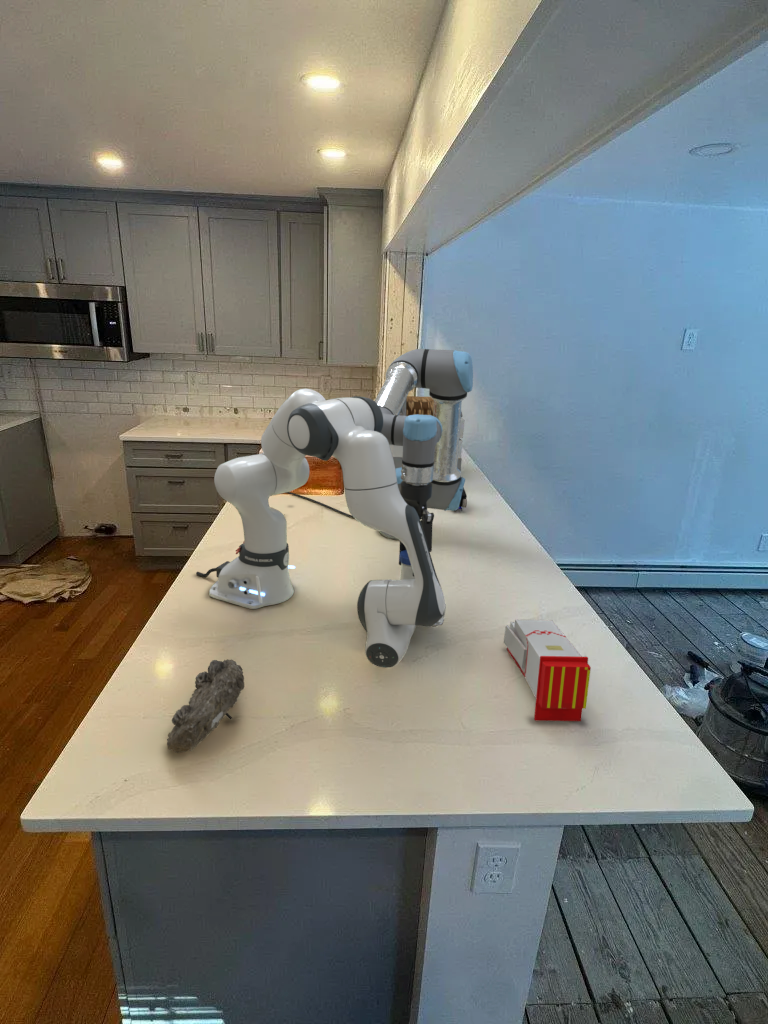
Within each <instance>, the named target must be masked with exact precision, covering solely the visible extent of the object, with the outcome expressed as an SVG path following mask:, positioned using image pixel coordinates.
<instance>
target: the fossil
mask: <svg viewBox="0 0 768 1024" xmlns="http://www.w3.org/2000/svg"><path fill="white" fill-rule="evenodd" d="M243 670H244V669H243V667H242V665H240V664H237V662H236V661H235V660H234V659H232V658H231V659H227V658H226V659H224V660H223V661H222V660H217V659H212V660H211V661H210V663H209V665H208V666H207V671H201V672H199V673H198V674H197V675H196V676H195V680H194V684H195V685H194V687H195V689H194V690H193V693H192V694H191V697H190V698H189V700H188V704H184V705H182V706H181V707H180V709H177V710H176V711H175V713H174V715H173V716H172V718H171V723H172V724H173V727H172V730H171V731H170V732H168V734H167V738H166V741H167V742H166V745H167V749H168V750H169V751H173V752H174V753H176V754H178V753H182V752H188V751H189V752H192V751H193V750H195V748H196V747H197V746H199V744H200V743H201V742H203V741H204V740H205V739H206V738H207V737H208V736H209V735H210V734H211V733H212V732H214V730H215V729H217V727H218V726H219V724H220V722H221V721H222V720H223V719H224V718H225V716H226V717H227V719H229V720H233V717H232V715H230V714H229V710H230V709H231V708H234V706H235V704H236V703H237V702H238V699H239V697H240V695H241V693H242V691H243V690H245V689H244V688H245V675H244V671H243Z"/></svg>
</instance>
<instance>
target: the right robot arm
mask: <svg viewBox="0 0 768 1024" xmlns="http://www.w3.org/2000/svg"><path fill="white" fill-rule="evenodd" d="M473 368H474V367H473V359H472V355H471V354H470V353H469V352H468V351H461V350H457V349H432V348H416V349H412V350H410V351H407V352H405V353H403V354H401V355H400V356H398V357H396V359H394V360H393V361H392V362H391V363H390V364H389V366H388V367H387V369H386V372H385V381H384V382H383V384H382V385H381V388H380V390H379V392H378V394H377V396H376V397H375V399H374V401H375V402H376V403H377V404H378V406H379V407H380V409H381V412H382V415H383V428H382V431H381V434H383V435H384V436H385V437H386V439H387V440H388V443H389V445H397V446H403V455H402V467H401V468H396V469H395V470H396V477H397V485H398V489H399V492H400V494H401V496H402V498H403V499H404V501H405V502H406V503H407V504H408V505H409V506H412V507H414V508H415V510H416V512H417V514H418V516H419V519H420V521H421V524H422V527H423V531H424V534H425V537H426V541H427V544H428V548H429V551H430V553H432V551H433V524H434V523H433V522H434V518H435V514H434V512H430V511H429V510H428V509H430V510H431V509H433V510H442V511H445V512H446V511H451V512H452V511H453V512H456V511H457V510H458V508H459V504H460V500H461V496H462V491H463V487H464V486H465V483H466V478H465V477H463V476H462V470H461V471H460V470H459V469H458V468H457V461H458V446H459V432H460V417H461V412H462V403H463V402H462V401H464V400H465V399H466V398H467V396H468V393H469V392H470V393H471V392H472V391H473V386H474V369H473ZM414 389H427V390H429V392H428V395H429V397H431V398H432V399H433V400H434V411H433V416H431V415H409V416H401V415H399V413H400V411H401V408H402V406H403V404H404V402H405V400H406V398H407V396H409V393H410V392H411V391H413V390H414ZM461 418H462V417H461ZM464 488H465V487H464ZM285 494H288V495H292V496H295V497H298V498H301V499H305V500H308V501H309V502H313V503H316V504H318V505H319V506H323V507H325V508H328V509H330V510H332V511H334V512H336V513H339V514H341V515H343V516H346V517H348V518H352V519H355V518H354V517H353V516H352V515H351V514H350V513H347V512H344V511H341V510H339V509H336V508H334V507H332V506H330V505H328V504H326V503H323V502H320V501H318V500H315V499H313V498H310V497H307V496H304V495H301V494H298V493H295V492H292V491H290V492H286V493H285ZM459 509H460V508H459ZM378 533H379V534H380V535H381V536H382V537H385V538H387V539H389V540H395V541H399V546H398V547H399V551H398V552H399V553H398V555H399V554H400V552H401V551H403V550H407V549H406V547H405V546H404V544H403V543H402V542H401V541H400V540H399V539H397V538H396V537H394V536H392V535H390V534H387V533H385V532H382V531H378ZM398 565H399V566H401V562H400V561H399V560H398ZM413 576H414V573H413Z"/></svg>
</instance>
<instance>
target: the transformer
mask: <svg viewBox="0 0 768 1024" xmlns="http://www.w3.org/2000/svg"><path fill="white" fill-rule="evenodd" d="M433 411H434V400H433V399H432V398H431V397H430V396H415V395H414V396H413V395H412V396H411V395H407V398H406V400H405V402H404V404H403V406H402V408H401V411H400V413H399V415H401V416H409V415H431V416H433ZM464 429H465V419H464V418H463V411H461V417H460V432H459V446H458V461H457V468H458V469H459V470H460V471H461V472H462V461H463V460H462V453H463V442H464V441H463V440H462V439H463V438H464V431H465V430H464ZM389 446H390V449H391V452H392V456H393V460H394V465H395V469H396V468H401V467H402V455H403V446H397V445H389Z"/></svg>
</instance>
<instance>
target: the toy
mask: <svg viewBox="0 0 768 1024" xmlns="http://www.w3.org/2000/svg"><path fill="white" fill-rule="evenodd" d="M503 644H504V645H505V647H506V650H507V653H508V654H509V656H510V657H511V658H512V660H513V662H514V663H515V665H516V667H517V668H518V669H519V671H520V672H521V674H522V676H523V677H524V678H525V681H526V683H527V684H528V686H529V688H530V690H531V692H532V694H533V695H534V697H535V706H534V717H533V720H534V721H536V722H539V721H540V722H582V716H583V715H582V714H583V709H587V704H588V703H587V701H588V695H589V685H590V677H591V669H592V666H590V664H589V657H588V656H582V654H581V653H580V652H579V651H578V649H576V647H575V646H574V645H573V643H572V642H571V641H570V640H569V639H568V637H567V636H566V635H565V634H564V633H563V631H562V630H561V629H560V628H559V626H558V625H557V624H556V623H555V621H554V620H553V619H524V618H523V619H521V618H518V619H516V618H515V619H514V621H510V622H509V624H506V625H505V629H504V637H503Z"/></svg>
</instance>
